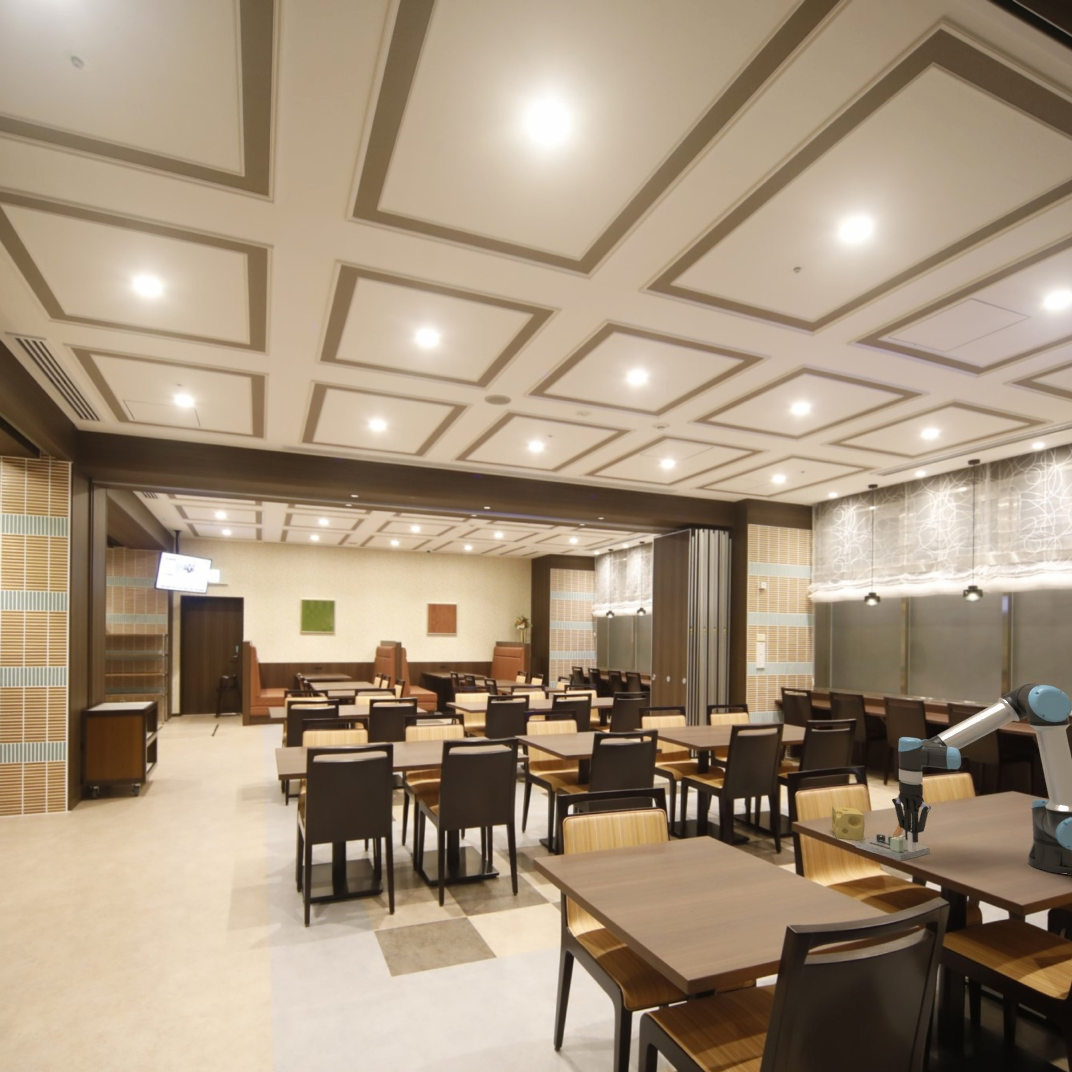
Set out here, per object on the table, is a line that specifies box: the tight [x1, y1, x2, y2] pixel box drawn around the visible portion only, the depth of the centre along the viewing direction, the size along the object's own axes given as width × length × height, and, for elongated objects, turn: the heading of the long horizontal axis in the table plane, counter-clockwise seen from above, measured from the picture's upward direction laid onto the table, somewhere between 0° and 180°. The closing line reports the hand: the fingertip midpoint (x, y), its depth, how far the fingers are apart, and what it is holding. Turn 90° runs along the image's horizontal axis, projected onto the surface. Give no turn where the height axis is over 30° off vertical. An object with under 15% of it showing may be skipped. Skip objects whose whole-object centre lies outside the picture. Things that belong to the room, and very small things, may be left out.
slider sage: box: [890, 836, 903, 852], centre depth 251 cm, size 3×3×4 cm
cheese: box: [831, 806, 866, 841], centre depth 274 cm, size 10×11×10 cm
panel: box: [854, 833, 931, 862], centre depth 258 cm, size 17×20×4 cm
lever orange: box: [892, 823, 905, 837], centre depth 261 cm, size 1×3×8 cm, turn 122°
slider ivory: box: [898, 834, 908, 850], centre depth 253 cm, size 3×3×4 cm
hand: (911, 850), depth 246 cm, fingers closed
